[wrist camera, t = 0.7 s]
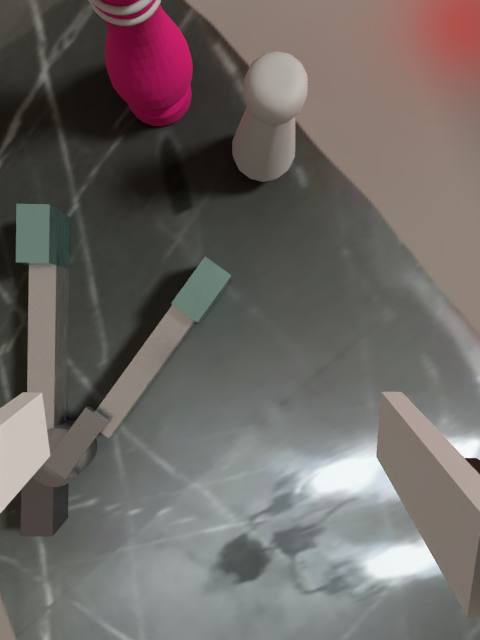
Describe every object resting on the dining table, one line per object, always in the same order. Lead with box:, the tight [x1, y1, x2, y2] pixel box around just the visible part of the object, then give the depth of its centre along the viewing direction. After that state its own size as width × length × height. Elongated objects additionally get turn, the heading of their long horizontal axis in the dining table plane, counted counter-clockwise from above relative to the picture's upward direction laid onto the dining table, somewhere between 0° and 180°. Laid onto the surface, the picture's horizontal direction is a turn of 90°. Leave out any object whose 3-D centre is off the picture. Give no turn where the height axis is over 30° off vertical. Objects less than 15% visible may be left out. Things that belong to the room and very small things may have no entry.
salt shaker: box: [232, 51, 308, 182], centre depth 32 cm, size 6×6×13 cm
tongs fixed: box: [16, 204, 97, 536], centre depth 36 cm, size 29×6×4 cm, turn 179°
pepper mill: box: [89, 0, 193, 126], centre depth 28 cm, size 7×7×20 cm
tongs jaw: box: [45, 257, 231, 479], centre depth 36 cm, size 22×4×4 cm, turn 144°
